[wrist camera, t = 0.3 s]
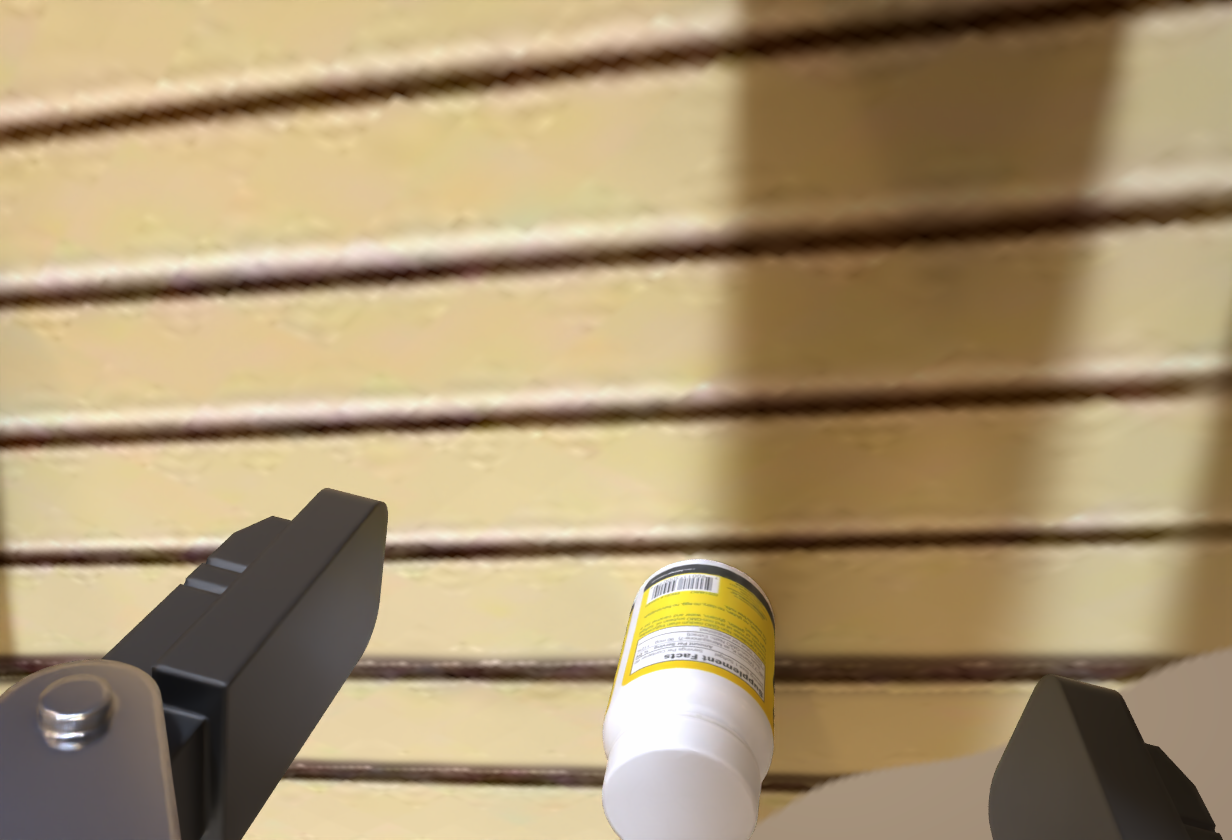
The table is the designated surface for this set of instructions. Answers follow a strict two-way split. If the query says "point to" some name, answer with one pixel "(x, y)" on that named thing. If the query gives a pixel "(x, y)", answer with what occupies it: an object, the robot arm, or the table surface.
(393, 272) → the table surface
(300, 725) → the robot arm
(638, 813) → the supplement bottle
